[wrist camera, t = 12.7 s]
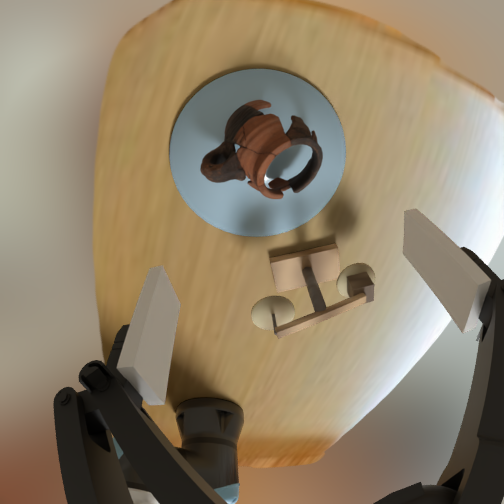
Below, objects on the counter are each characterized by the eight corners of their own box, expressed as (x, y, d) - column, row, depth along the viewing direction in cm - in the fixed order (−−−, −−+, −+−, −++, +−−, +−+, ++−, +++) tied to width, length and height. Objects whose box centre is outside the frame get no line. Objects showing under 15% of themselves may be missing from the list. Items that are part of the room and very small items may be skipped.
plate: (199, 250, 39) (198, 252, 38) (149, 96, 28) (148, 97, 28) (351, 216, 37) (353, 217, 37) (329, 57, 27) (330, 56, 27)
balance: (252, 292, 43) (258, 354, 33) (244, 263, 40) (248, 324, 31) (360, 267, 42) (390, 321, 32) (359, 237, 39) (394, 289, 30)
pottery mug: (283, 82, 29) (330, 115, 24) (292, 147, 37) (330, 186, 32) (178, 124, 28) (203, 169, 23) (204, 187, 36) (231, 235, 31)
